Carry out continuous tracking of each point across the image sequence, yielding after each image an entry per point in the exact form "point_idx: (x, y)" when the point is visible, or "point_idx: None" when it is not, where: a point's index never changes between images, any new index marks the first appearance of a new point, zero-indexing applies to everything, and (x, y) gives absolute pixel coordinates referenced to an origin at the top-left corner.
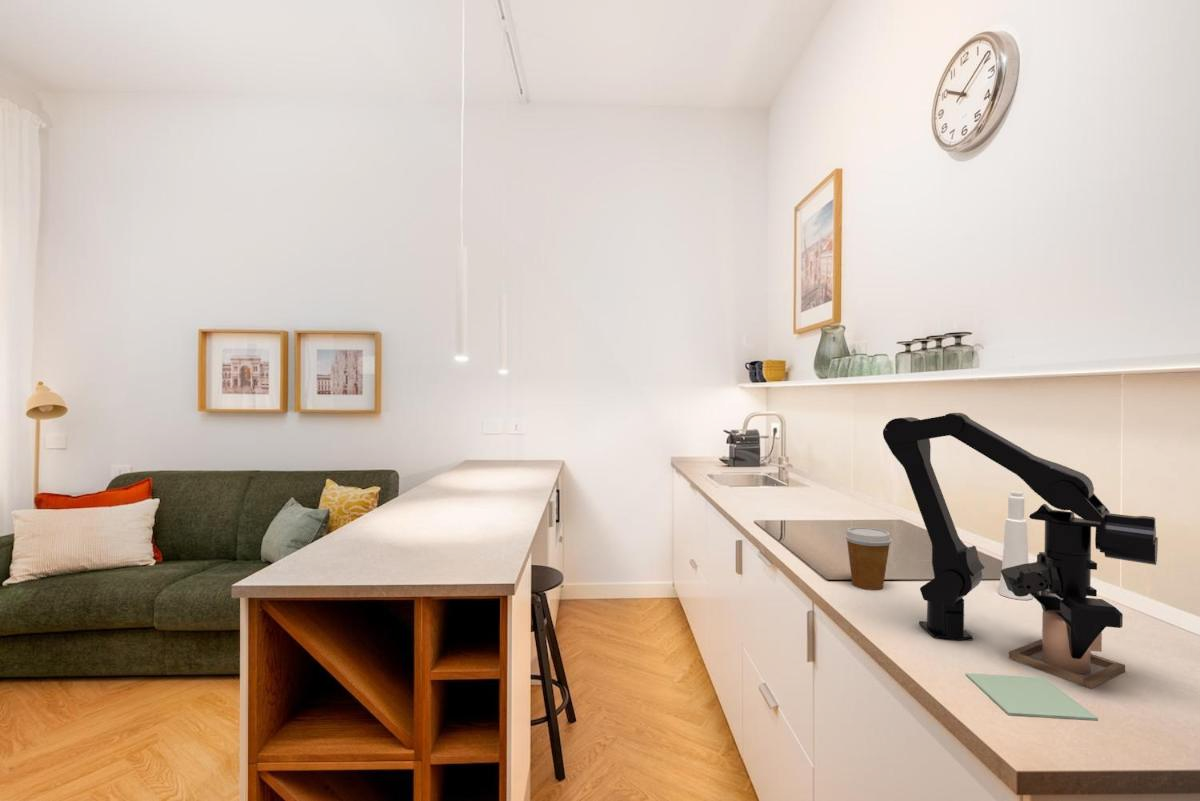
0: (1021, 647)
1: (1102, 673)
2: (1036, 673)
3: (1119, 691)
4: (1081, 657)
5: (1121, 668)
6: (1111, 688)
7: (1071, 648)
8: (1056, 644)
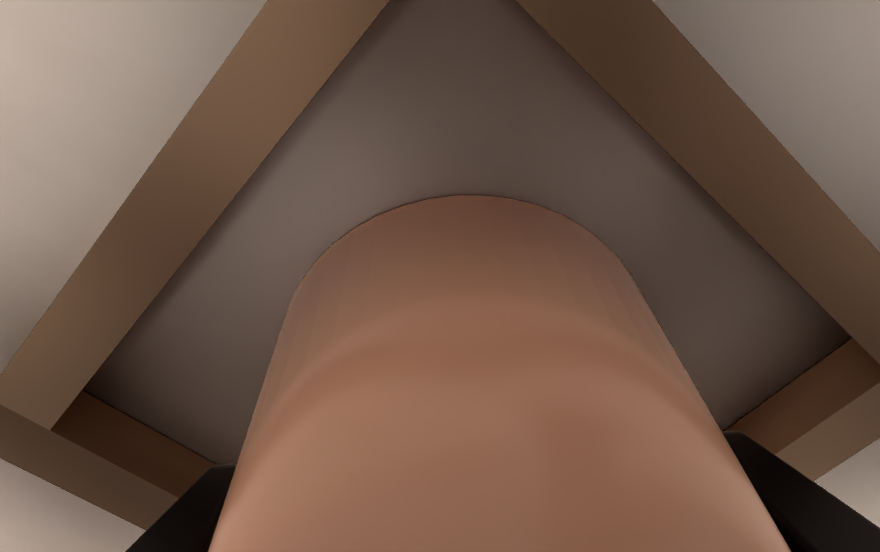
0: (671, 38)
1: None
2: (74, 16)
3: (78, 536)
4: None
5: None
6: (104, 510)
7: (139, 549)
8: (271, 432)
